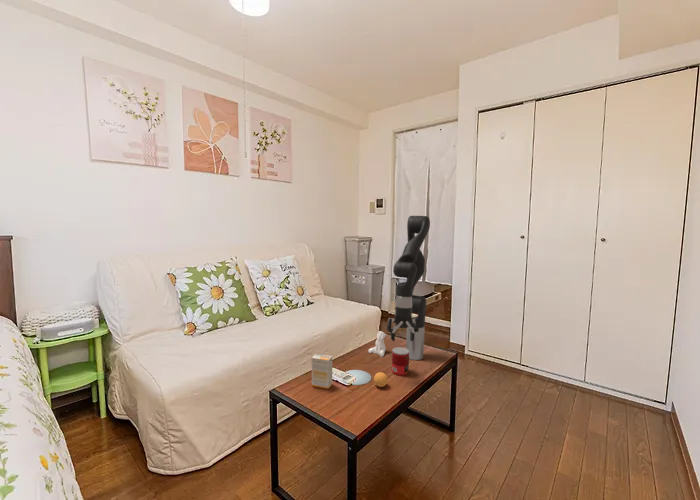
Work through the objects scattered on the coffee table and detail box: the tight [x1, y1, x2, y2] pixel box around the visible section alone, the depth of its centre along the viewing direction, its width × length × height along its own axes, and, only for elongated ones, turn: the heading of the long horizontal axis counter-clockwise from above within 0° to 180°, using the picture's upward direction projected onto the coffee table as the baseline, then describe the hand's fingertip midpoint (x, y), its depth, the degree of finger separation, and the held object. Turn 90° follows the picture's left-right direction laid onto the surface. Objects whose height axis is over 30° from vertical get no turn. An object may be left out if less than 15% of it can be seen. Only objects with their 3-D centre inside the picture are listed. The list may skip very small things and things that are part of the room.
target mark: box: [345, 369, 372, 386], centre depth 151 cm, size 14×14×1 cm
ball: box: [373, 372, 388, 388], centre depth 143 cm, size 6×6×6 cm
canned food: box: [391, 346, 410, 377], centre depth 156 cm, size 8×8×11 cm
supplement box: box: [311, 353, 333, 390], centre depth 143 cm, size 8×5×13 cm, turn 71°
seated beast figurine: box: [367, 330, 387, 358], centre depth 179 cm, size 10×9×12 cm
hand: (402, 340), depth 149 cm, fingers open, 8 cm apart
